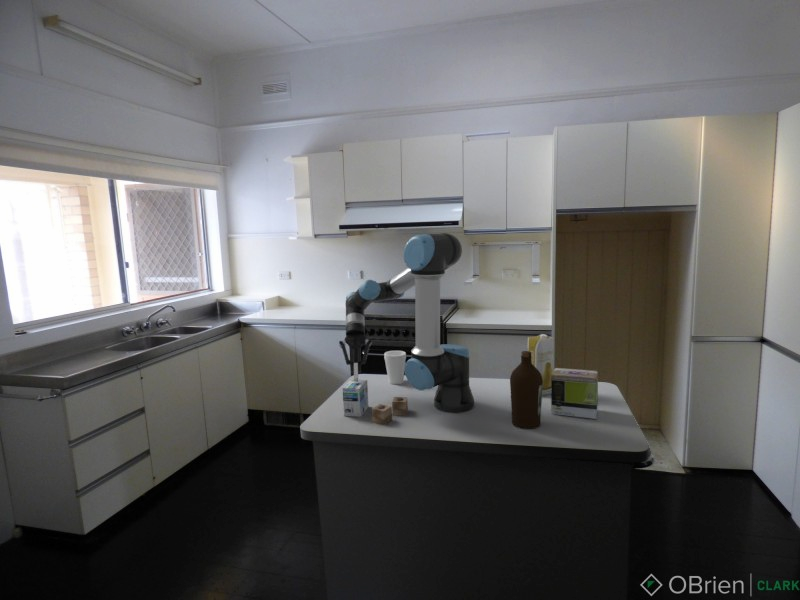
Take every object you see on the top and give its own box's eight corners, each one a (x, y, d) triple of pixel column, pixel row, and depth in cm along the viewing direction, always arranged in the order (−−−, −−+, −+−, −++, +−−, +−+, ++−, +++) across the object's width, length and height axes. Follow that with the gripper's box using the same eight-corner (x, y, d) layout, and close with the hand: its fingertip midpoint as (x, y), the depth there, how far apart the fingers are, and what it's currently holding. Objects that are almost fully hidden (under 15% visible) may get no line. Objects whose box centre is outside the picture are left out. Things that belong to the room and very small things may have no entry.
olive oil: (510, 429, 159) (509, 355, 156) (510, 416, 170) (510, 347, 166) (543, 431, 157) (544, 356, 153) (541, 418, 167) (542, 348, 164)
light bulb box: (361, 417, 174) (359, 388, 173) (343, 416, 176) (341, 388, 174) (369, 406, 184) (367, 379, 183) (352, 405, 186) (350, 378, 184)
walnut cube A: (407, 409, 180) (407, 396, 179) (406, 415, 175) (405, 401, 174) (394, 409, 180) (394, 396, 179) (392, 414, 175) (392, 401, 175)
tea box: (597, 409, 173) (598, 370, 171) (596, 420, 164) (597, 378, 162) (554, 404, 179) (554, 366, 177) (550, 414, 170) (550, 374, 168)
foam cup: (387, 378, 217) (386, 350, 215) (407, 378, 216) (406, 350, 214) (383, 385, 208) (382, 356, 206) (405, 385, 207) (404, 356, 205)
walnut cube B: (391, 419, 171) (391, 405, 170) (384, 424, 167) (383, 410, 166) (380, 417, 174) (379, 403, 173) (372, 422, 169) (371, 408, 169)
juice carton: (539, 398, 187) (539, 337, 183) (524, 392, 193) (524, 334, 190) (556, 393, 191) (556, 334, 188) (541, 387, 198) (541, 330, 194)
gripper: (371, 331, 196) (373, 383, 182) (339, 332, 195) (339, 385, 181) (371, 321, 190) (373, 374, 176) (338, 322, 189) (337, 376, 175)
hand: (356, 380), depth 179 cm, fingers closed
